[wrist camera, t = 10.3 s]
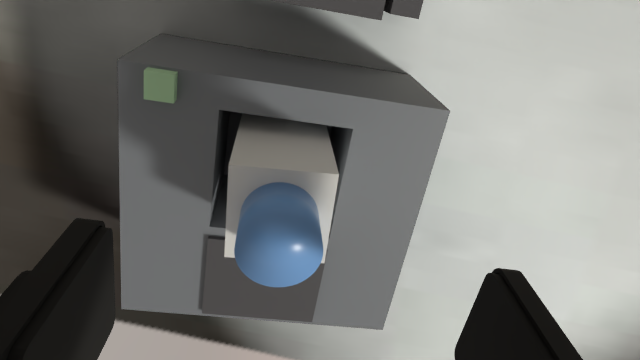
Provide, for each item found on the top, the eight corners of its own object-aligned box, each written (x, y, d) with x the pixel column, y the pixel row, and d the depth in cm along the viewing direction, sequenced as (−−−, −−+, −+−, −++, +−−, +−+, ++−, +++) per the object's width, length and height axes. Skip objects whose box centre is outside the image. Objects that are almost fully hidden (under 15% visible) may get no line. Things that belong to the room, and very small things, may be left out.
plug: (320, 103, 22) (347, 204, 13) (311, 169, 23) (329, 301, 14) (247, 95, 21) (220, 194, 12) (242, 163, 23) (216, 295, 14)
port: (409, 74, 22) (454, 114, 16) (362, 256, 27) (384, 337, 21) (160, 33, 21) (112, 62, 15) (155, 234, 25) (117, 316, 19)
